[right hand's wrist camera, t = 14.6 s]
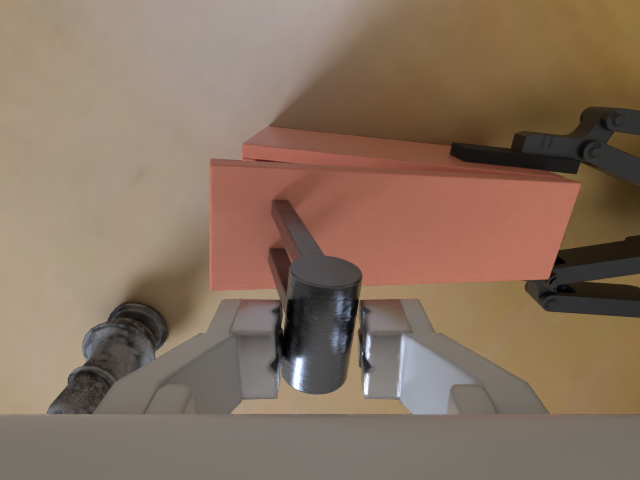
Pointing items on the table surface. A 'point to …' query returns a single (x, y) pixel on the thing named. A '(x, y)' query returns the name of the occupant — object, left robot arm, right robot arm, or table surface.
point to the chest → (364, 153)
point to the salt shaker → (111, 356)
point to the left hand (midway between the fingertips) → (447, 201)
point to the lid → (370, 242)
